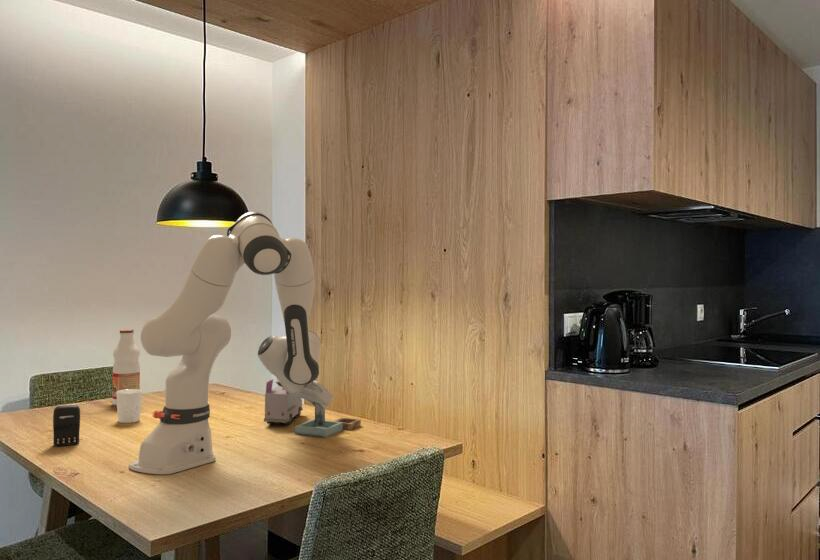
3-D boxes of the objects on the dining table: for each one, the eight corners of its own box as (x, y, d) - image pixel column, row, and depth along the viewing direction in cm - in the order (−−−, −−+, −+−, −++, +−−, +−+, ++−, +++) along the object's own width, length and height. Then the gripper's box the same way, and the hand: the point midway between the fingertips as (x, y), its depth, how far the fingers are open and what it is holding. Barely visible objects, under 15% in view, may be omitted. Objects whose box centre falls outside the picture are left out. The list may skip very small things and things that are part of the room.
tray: (325, 437, 198) (326, 429, 198) (295, 434, 203) (295, 426, 203) (342, 430, 209) (342, 422, 209) (313, 426, 213) (313, 418, 213)
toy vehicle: (304, 415, 229) (305, 373, 229) (288, 428, 210) (289, 382, 210) (279, 414, 230) (280, 372, 230) (261, 427, 211) (262, 381, 210)
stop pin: (322, 426, 203) (322, 392, 203) (310, 425, 204) (311, 390, 204) (328, 423, 207) (329, 389, 207) (317, 422, 208) (318, 388, 208)
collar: (351, 430, 209) (351, 424, 209) (332, 427, 211) (332, 421, 211) (360, 425, 215) (360, 419, 215) (342, 423, 218) (342, 417, 218)
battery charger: (52, 448, 182) (52, 407, 182) (52, 444, 185) (53, 405, 185) (80, 445, 185) (80, 405, 185) (79, 442, 189) (80, 403, 189)
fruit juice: (129, 407, 237) (130, 331, 237) (106, 405, 239) (107, 330, 239) (144, 402, 246) (145, 329, 246) (122, 400, 248) (123, 328, 248)
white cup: (141, 422, 214) (141, 392, 214) (115, 424, 211) (115, 393, 211) (141, 417, 221) (142, 388, 221) (116, 419, 218) (117, 389, 218)
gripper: (321, 374, 193) (346, 403, 200) (284, 366, 208) (309, 393, 215) (308, 391, 190) (334, 419, 197) (272, 381, 205) (297, 408, 212)
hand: (321, 405), depth 206 cm, fingers closed on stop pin, 3 cm apart
